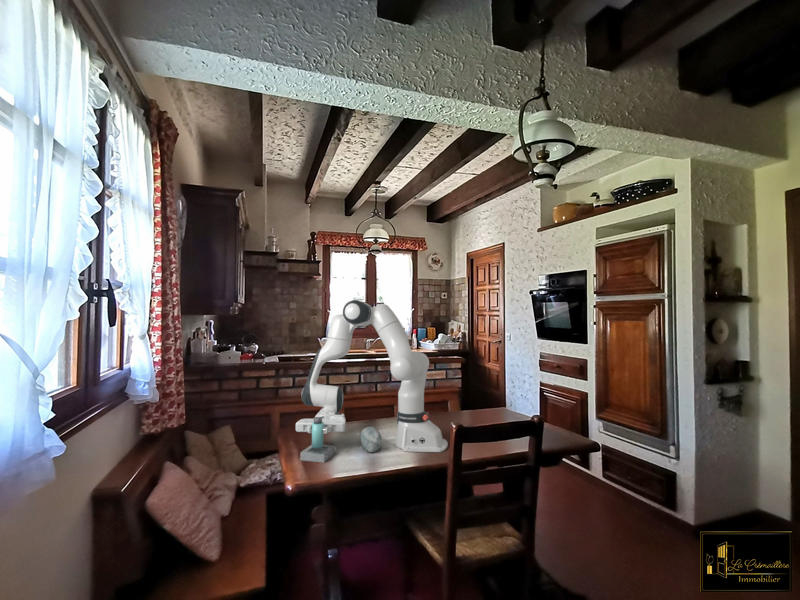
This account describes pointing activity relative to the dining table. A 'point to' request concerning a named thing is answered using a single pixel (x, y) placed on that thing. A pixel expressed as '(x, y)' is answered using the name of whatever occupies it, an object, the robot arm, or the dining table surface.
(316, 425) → the bottle
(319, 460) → the housing
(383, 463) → the dining table surface
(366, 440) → the spool
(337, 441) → the dining table surface
